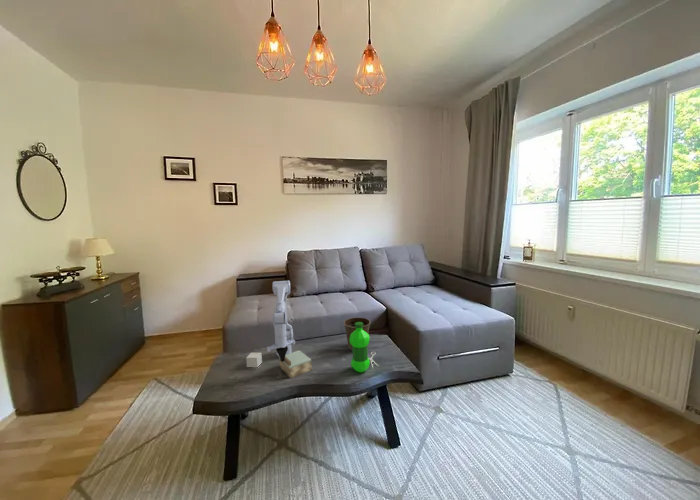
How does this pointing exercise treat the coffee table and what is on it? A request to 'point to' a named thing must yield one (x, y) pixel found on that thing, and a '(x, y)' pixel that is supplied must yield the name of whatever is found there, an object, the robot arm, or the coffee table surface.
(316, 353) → the coffee table surface
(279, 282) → the robot arm
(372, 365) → the scissors
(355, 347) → the plastic bottle
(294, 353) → the lid
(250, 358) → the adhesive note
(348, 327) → the plant pot
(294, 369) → the storage box
